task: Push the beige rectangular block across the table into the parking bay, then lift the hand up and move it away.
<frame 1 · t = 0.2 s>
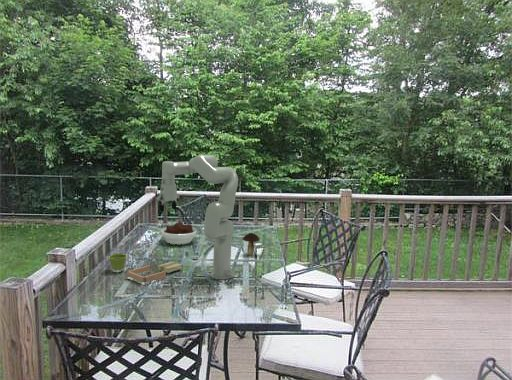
hand: (167, 209, 247), 31 cm above the table, tool pointing down, fingers open, 9 cm apart
decorative mushroom: (250, 255, 266), on the table
parking bay: (147, 278, 217), on the table
beige rectangular block: (170, 271, 230), on the table
chocolate cake: (178, 243, 288), on the table
plant pot: (117, 271, 225), on the table
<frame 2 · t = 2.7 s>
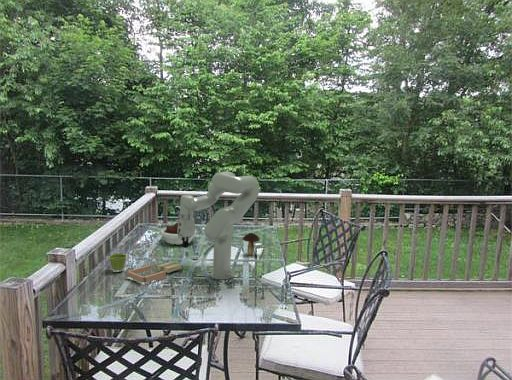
hand: (185, 247, 238), 11 cm above the table, tool pointing down, fingers closed
nothing on the table moved.
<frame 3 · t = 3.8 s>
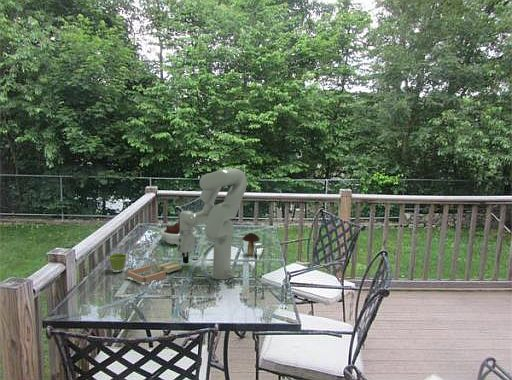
hand: (185, 262, 239), 2 cm above the table, tool pointing down, fingers closed
nothing on the table moved.
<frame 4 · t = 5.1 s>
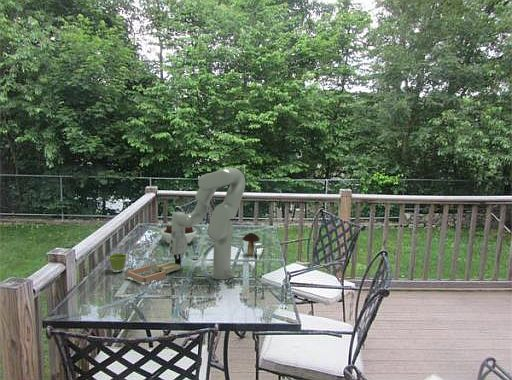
hand: (177, 264, 234), 2 cm above the table, tool pointing down, fingers closed
beige rectangular block: (168, 271, 229), on the table, touching gripper
everything else where it was.
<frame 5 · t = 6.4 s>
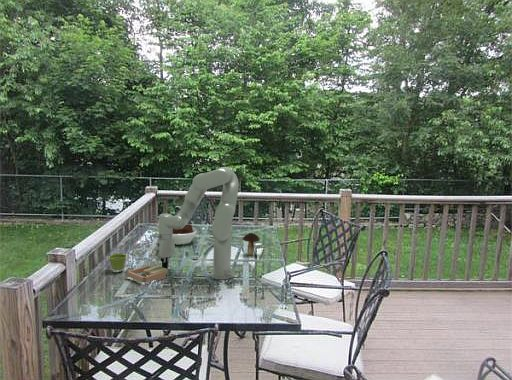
hand: (164, 268, 227), 2 cm above the table, tool pointing down, fingers closed
beige rectangular block: (155, 275, 221), on the table, touching gripper
everything else where it was.
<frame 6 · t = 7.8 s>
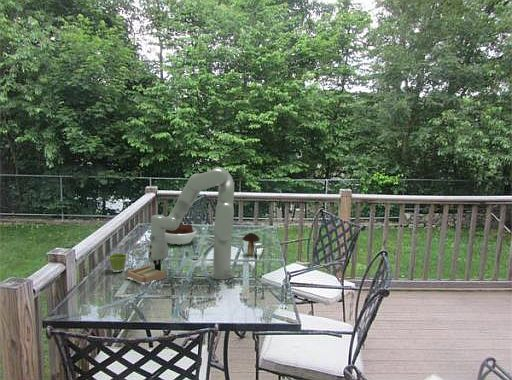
hand: (157, 270, 223), 2 cm above the table, tool pointing down, fingers closed
beige rectangular block: (148, 278, 217), on the table, touching gripper
everything else where it was.
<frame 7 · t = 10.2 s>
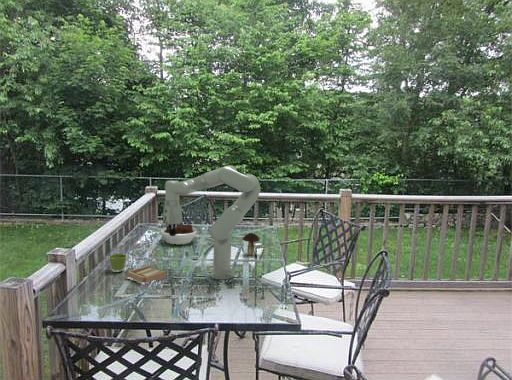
hand: (172, 235, 228), 20 cm above the table, tool pointing down, fingers closed
beige rectangular block: (148, 278, 217), on the table
everything else where it was.
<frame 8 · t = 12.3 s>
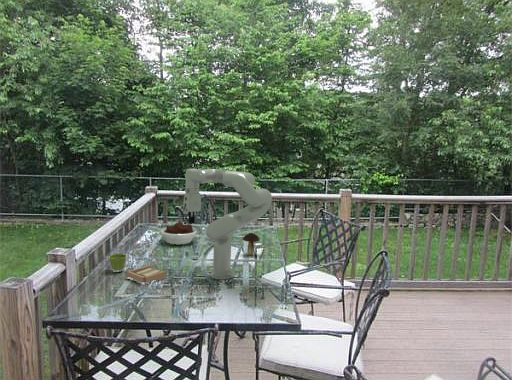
hand: (191, 223, 231), 27 cm above the table, tool pointing down, fingers closed
nothing on the table moved.
at the end: beige rectangular block 0.7 cm off-centre on the parking bay, point 0.0 cm above the parking bay's base; beige rectangular block tilted 0° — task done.
